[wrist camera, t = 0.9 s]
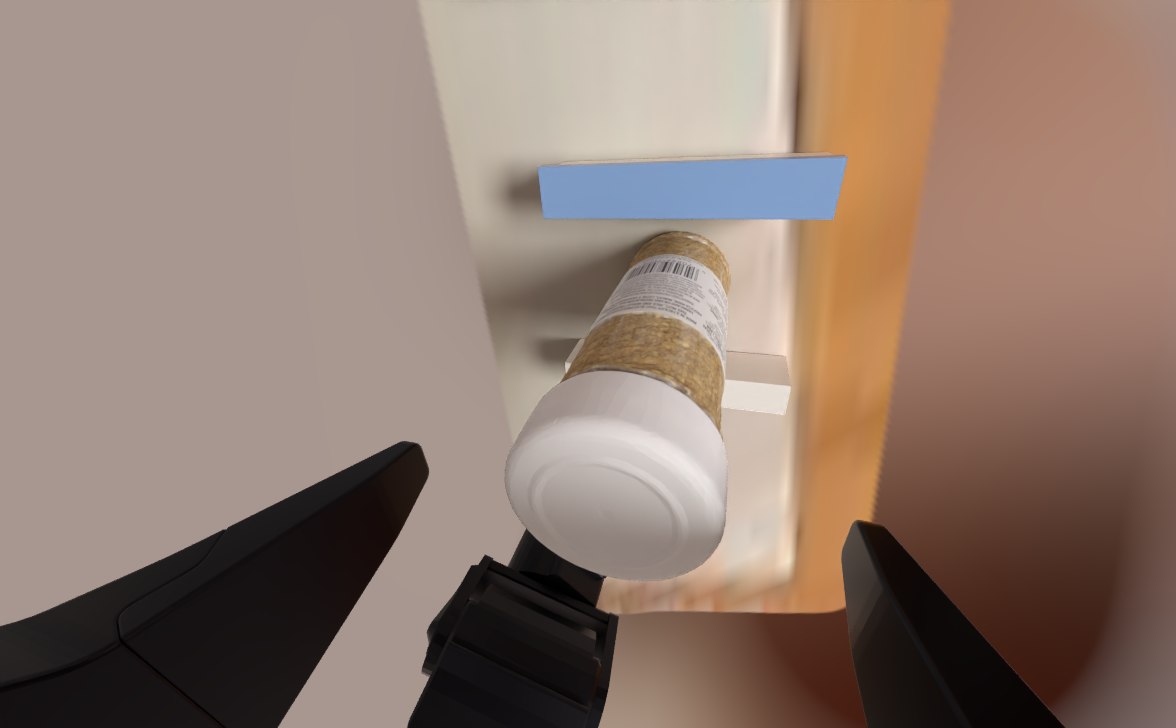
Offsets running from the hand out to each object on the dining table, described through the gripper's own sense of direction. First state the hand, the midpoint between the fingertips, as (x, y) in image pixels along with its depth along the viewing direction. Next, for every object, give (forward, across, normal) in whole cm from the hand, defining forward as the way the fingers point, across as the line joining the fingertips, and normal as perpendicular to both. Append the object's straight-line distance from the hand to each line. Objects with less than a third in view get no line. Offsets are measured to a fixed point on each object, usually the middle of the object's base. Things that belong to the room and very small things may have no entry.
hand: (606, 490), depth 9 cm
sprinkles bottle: (+13, 0, 0) cm, 13 cm away
